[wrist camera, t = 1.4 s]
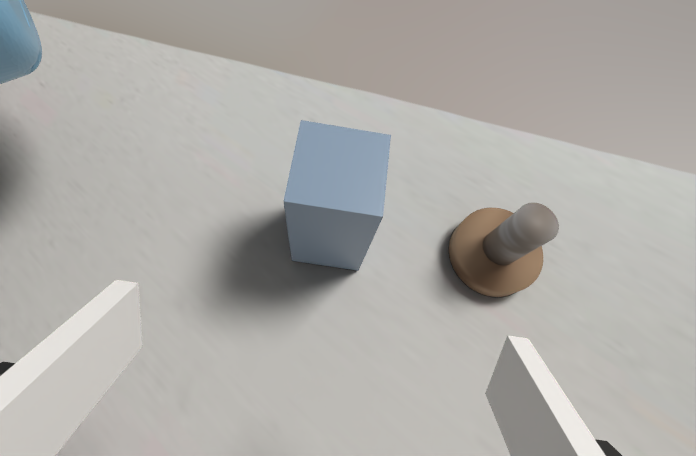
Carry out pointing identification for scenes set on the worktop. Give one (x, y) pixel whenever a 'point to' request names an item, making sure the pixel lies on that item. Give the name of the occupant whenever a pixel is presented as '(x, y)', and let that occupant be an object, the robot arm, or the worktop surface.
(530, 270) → the post stand
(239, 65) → the worktop surface
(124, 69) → the worktop surface
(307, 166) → the upright blue pillar
